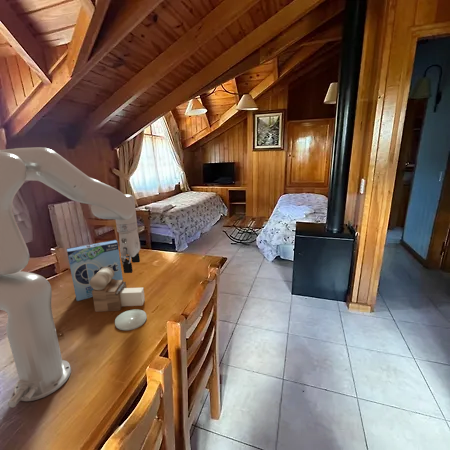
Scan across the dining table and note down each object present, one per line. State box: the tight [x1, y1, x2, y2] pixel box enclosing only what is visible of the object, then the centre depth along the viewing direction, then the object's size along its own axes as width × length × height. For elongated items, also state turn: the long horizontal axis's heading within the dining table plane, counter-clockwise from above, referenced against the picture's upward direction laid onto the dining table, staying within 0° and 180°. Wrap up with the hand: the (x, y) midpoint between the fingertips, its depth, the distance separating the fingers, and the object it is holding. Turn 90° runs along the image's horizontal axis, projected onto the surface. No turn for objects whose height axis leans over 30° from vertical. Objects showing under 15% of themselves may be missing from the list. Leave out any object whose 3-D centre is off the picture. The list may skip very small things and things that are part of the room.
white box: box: [120, 287, 146, 307], centre depth 105 cm, size 4×12×6 cm, turn 94°
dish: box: [114, 308, 147, 331], centre depth 94 cm, size 11×11×1 cm
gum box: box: [66, 239, 124, 302], centre depth 111 cm, size 20×5×23 cm, turn 123°
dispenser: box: [90, 266, 127, 312], centre depth 103 cm, size 10×10×15 cm
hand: (132, 267), depth 102 cm, fingers open, 9 cm apart
